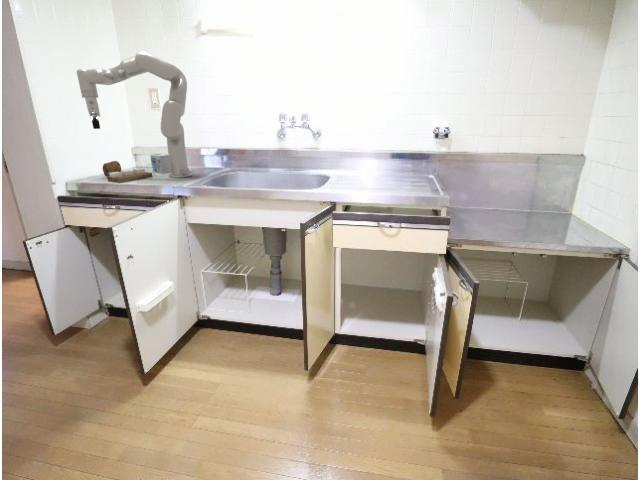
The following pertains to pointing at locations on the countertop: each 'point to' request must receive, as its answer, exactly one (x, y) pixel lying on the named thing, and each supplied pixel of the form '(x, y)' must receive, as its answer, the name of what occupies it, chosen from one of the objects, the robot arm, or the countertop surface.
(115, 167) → the tin
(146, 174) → the button board
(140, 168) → the end button
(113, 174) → the end button
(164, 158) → the light bulb box
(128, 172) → the middle button
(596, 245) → the countertop surface
